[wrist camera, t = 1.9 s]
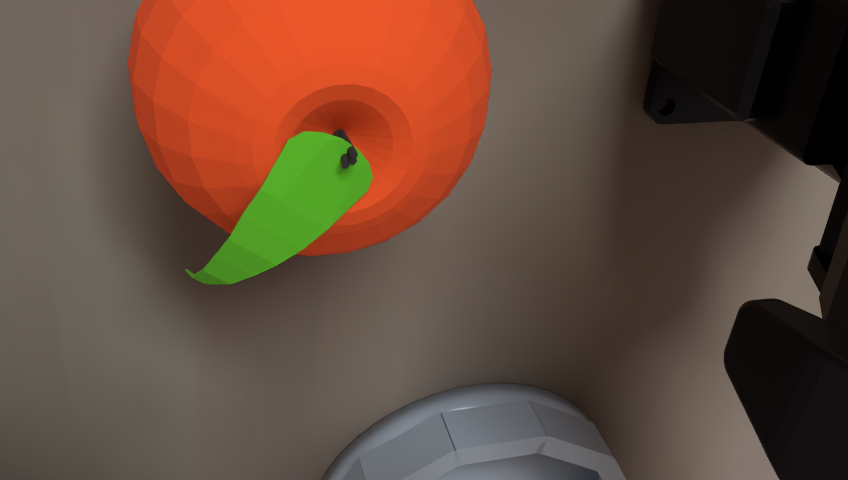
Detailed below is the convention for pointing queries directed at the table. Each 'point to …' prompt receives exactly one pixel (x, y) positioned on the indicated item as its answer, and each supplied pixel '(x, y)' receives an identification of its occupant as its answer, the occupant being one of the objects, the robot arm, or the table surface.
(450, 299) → the table surface
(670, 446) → the table surface
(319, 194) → the clementine
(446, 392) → the saucer
